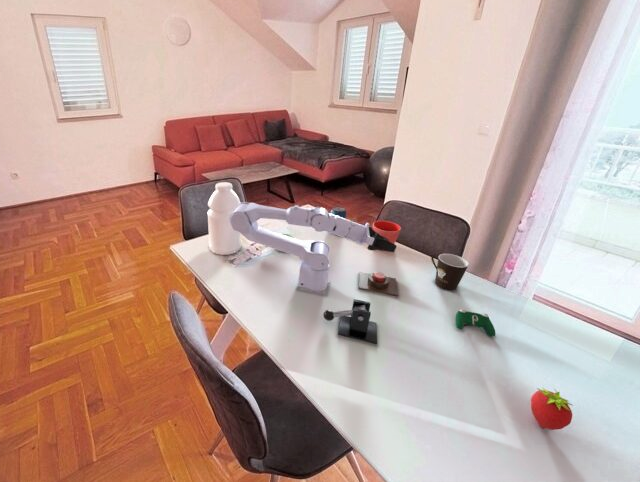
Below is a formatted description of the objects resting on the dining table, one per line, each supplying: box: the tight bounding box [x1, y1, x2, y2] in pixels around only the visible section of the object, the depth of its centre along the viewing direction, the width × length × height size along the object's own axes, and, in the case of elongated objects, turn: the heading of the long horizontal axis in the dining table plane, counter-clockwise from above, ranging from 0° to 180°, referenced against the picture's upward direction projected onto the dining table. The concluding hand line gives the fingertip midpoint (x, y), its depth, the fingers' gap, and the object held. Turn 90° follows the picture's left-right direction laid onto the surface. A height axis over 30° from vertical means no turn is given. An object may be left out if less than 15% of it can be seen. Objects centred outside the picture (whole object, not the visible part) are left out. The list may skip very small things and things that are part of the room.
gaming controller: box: [455, 309, 496, 337], centre depth 89 cm, size 9×4×6 cm
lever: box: [323, 305, 367, 322], centre depth 88 cm, size 12×3×3 cm, turn 69°
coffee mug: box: [431, 253, 470, 292], centre depth 108 cm, size 12×9×10 cm
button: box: [373, 271, 386, 282], centre depth 107 cm, size 4×4×2 cm
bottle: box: [206, 181, 243, 256], centre depth 128 cm, size 14×14×28 cm
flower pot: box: [372, 220, 402, 244], centre depth 132 cm, size 11×11×10 cm
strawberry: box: [530, 387, 573, 431], centre depth 62 cm, size 6×8×10 cm
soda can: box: [329, 205, 347, 236], centre depth 144 cm, size 7×7×12 cm
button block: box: [358, 271, 399, 297], centre depth 107 cm, size 12×10×3 cm
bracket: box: [337, 298, 378, 345], centre depth 87 cm, size 10×8×9 cm
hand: (391, 245), depth 95 cm, fingers open, 7 cm apart
